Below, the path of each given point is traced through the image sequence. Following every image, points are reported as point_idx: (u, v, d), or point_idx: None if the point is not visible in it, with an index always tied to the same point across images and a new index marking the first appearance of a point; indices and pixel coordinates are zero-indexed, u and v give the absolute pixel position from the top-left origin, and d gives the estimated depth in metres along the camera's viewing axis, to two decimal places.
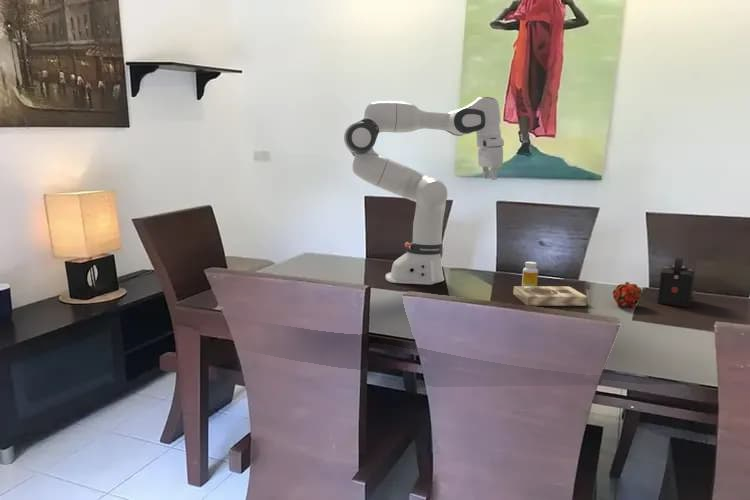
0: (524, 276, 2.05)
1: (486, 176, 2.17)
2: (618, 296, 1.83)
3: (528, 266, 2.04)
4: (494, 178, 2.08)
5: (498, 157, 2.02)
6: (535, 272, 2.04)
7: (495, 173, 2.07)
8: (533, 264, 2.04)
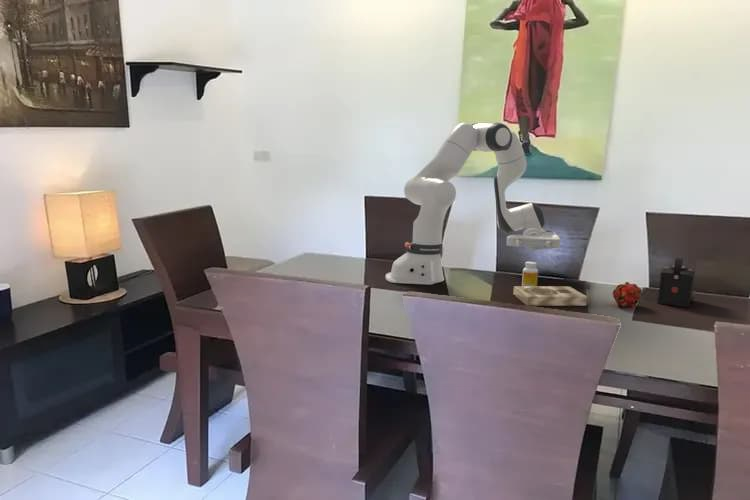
0: (524, 276, 2.05)
1: (521, 243, 2.17)
2: (618, 296, 1.83)
3: (528, 266, 2.04)
4: (547, 245, 2.15)
5: None
6: (535, 272, 2.04)
7: (548, 245, 2.16)
8: (533, 264, 2.04)
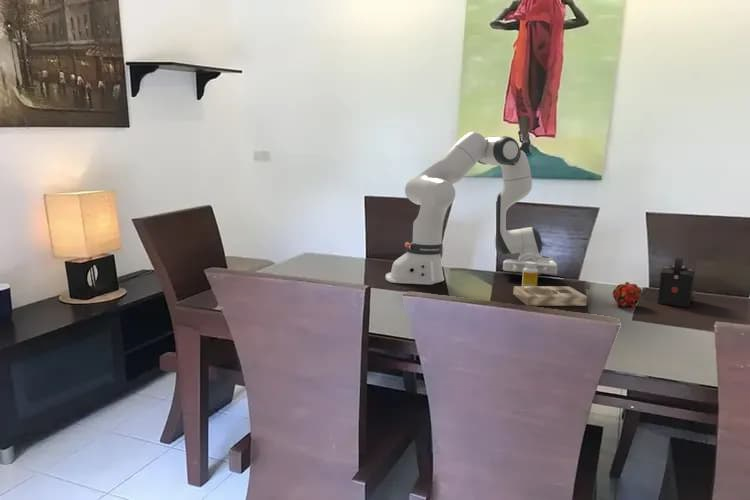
0: (524, 276, 2.05)
1: (518, 268, 2.14)
2: (618, 296, 1.83)
3: (528, 266, 2.04)
4: (544, 271, 2.11)
5: None
6: (535, 272, 2.04)
7: (545, 271, 2.13)
8: (533, 264, 2.04)
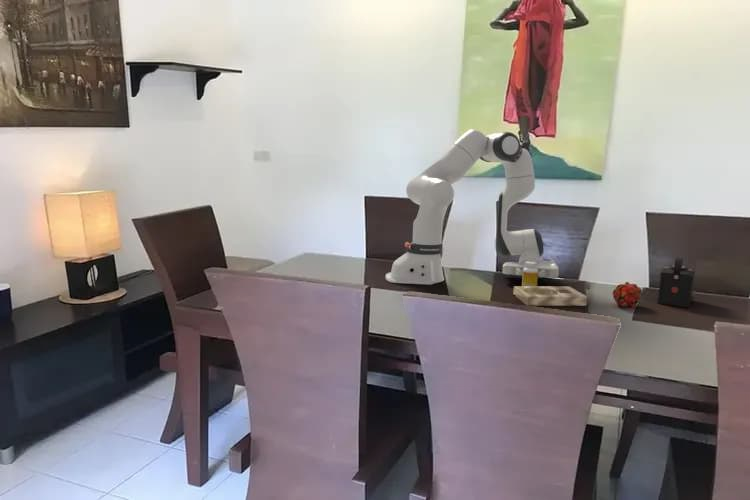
0: (524, 276, 2.05)
1: (522, 272, 2.07)
2: (618, 296, 1.83)
3: (528, 266, 2.04)
4: (542, 274, 2.05)
5: None
6: (535, 272, 2.04)
7: (543, 274, 2.07)
8: (533, 264, 2.04)
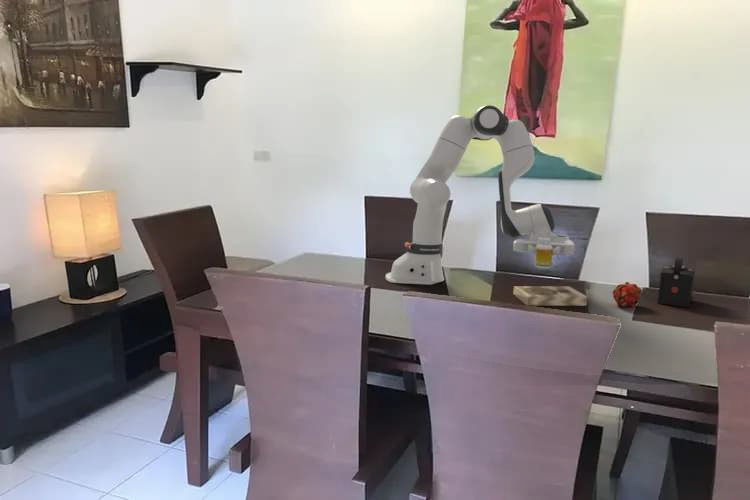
0: (537, 253, 1.88)
1: (535, 248, 1.90)
2: (618, 296, 1.83)
3: (542, 242, 1.87)
4: (556, 251, 1.88)
5: None
6: (549, 249, 1.87)
7: (557, 251, 1.89)
8: (547, 240, 1.87)
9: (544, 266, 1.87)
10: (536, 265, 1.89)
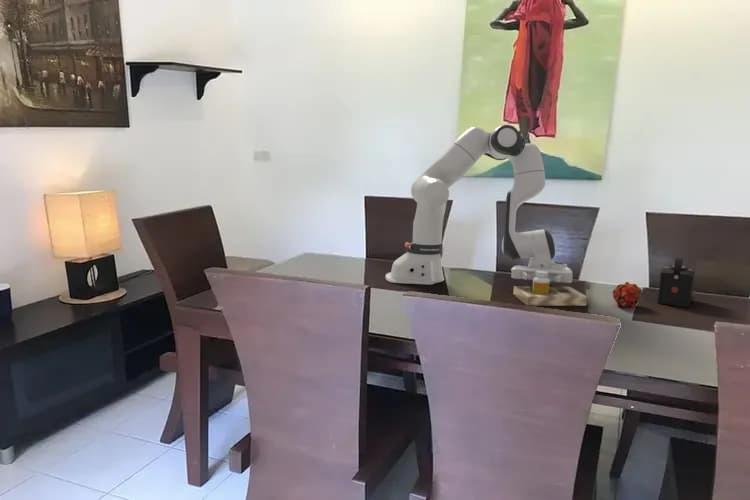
0: (535, 286, 1.89)
1: (529, 276, 1.91)
2: (618, 296, 1.83)
3: (539, 276, 1.88)
4: (558, 279, 1.88)
5: None
6: (547, 282, 1.88)
7: (559, 279, 1.90)
8: (544, 274, 1.88)
9: None
10: None
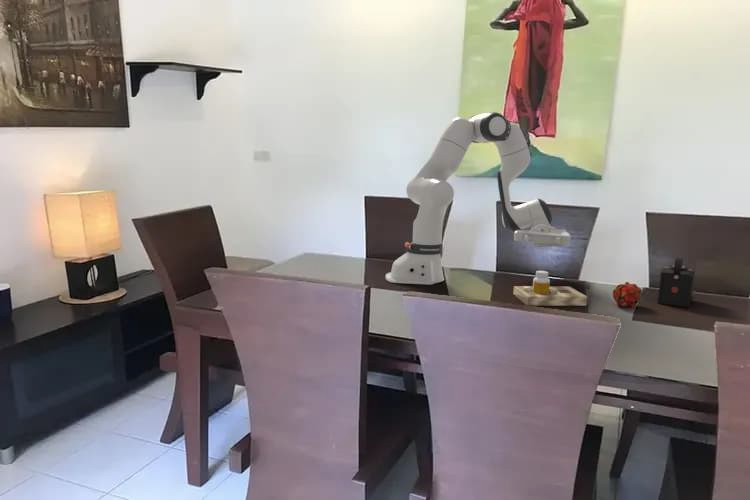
0: (535, 286, 1.89)
1: (530, 238, 2.06)
2: (618, 296, 1.83)
3: (539, 276, 1.88)
4: (557, 241, 2.03)
5: None
6: (547, 282, 1.88)
7: (558, 241, 2.05)
8: (544, 274, 1.88)
9: None
10: None
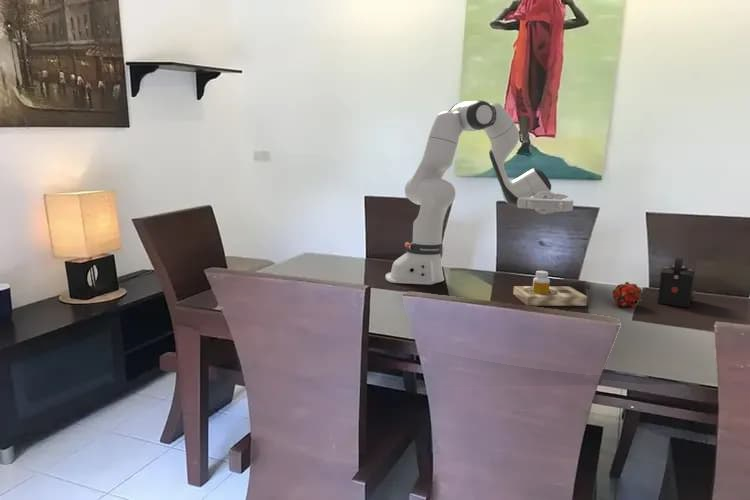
0: (535, 286, 1.89)
1: (533, 204, 2.09)
2: (618, 296, 1.83)
3: (539, 276, 1.88)
4: (560, 206, 2.07)
5: None
6: (547, 282, 1.88)
7: (561, 206, 2.08)
8: (544, 274, 1.88)
9: None
10: None
